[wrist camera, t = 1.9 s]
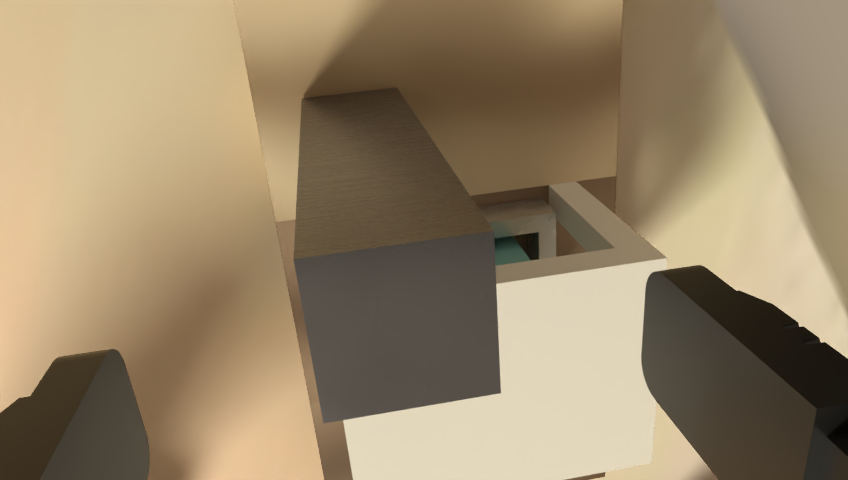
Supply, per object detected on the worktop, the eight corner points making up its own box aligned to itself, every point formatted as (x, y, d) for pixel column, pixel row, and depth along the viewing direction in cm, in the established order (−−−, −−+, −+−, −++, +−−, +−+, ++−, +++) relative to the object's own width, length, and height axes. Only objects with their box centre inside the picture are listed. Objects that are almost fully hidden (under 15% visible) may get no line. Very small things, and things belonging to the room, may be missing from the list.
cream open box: (320, 216, 22) (324, 310, 16) (575, 181, 23) (667, 257, 17) (347, 385, 25) (359, 518, 19) (573, 348, 26) (651, 463, 20)
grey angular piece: (301, 98, 20) (293, 259, 10) (540, 71, 21) (782, 189, 10) (346, 379, 25) (375, 709, 14) (542, 346, 26) (716, 634, 15)
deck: (230, -55, 20) (222, -56, 19) (600, -87, 22) (626, -91, 20) (332, 492, 29) (333, 527, 28) (587, 446, 31) (604, 476, 29)
